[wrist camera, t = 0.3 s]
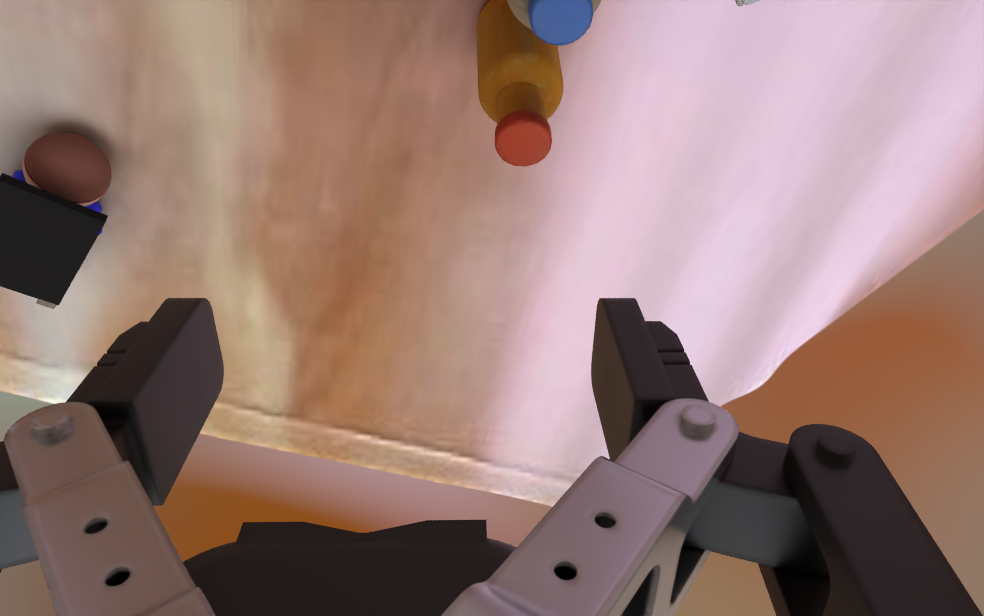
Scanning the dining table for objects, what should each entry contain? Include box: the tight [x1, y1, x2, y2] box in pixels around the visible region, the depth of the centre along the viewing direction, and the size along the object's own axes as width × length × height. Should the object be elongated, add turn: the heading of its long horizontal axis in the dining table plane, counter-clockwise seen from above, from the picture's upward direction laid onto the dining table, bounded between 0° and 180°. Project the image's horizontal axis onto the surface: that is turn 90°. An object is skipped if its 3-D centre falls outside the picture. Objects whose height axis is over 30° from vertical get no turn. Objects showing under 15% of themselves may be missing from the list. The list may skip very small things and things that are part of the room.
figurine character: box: [0, 132, 111, 309], centre depth 50 cm, size 7×8×15 cm
